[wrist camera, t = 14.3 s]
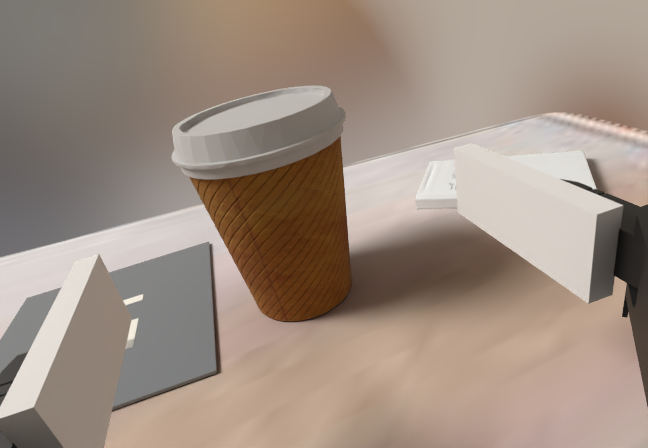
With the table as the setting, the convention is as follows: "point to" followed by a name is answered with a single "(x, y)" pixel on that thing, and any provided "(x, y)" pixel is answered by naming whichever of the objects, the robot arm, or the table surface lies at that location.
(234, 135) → the disposable coffee cup
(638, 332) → the robot arm
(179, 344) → the tile
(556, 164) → the external hard drive
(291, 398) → the table surface
